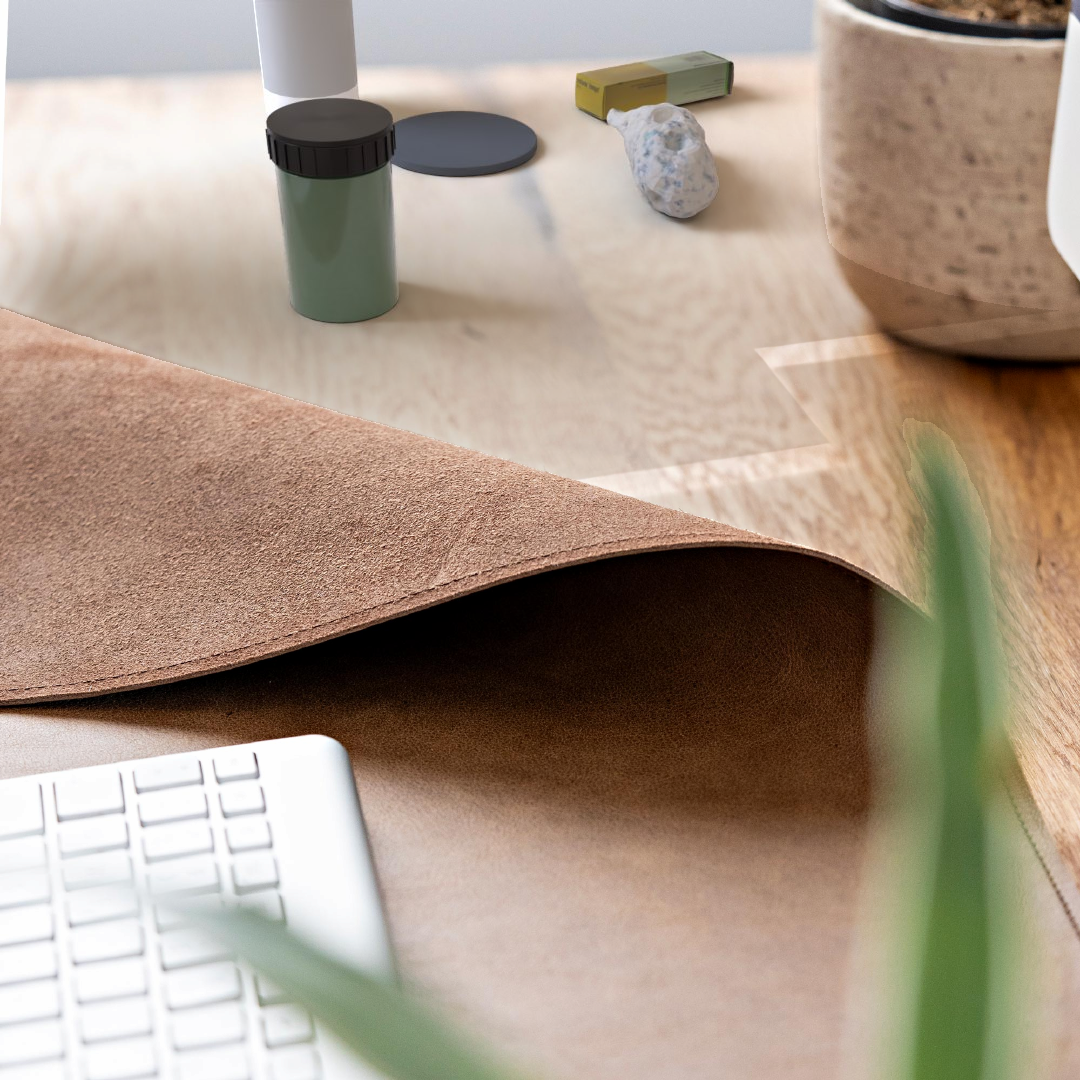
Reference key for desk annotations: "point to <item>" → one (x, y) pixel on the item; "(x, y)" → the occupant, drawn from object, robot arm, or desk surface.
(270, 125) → the jar lid
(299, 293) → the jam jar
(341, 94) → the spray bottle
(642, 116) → the decorative stone
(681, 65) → the medication box
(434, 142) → the coaster
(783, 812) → the desk surface
